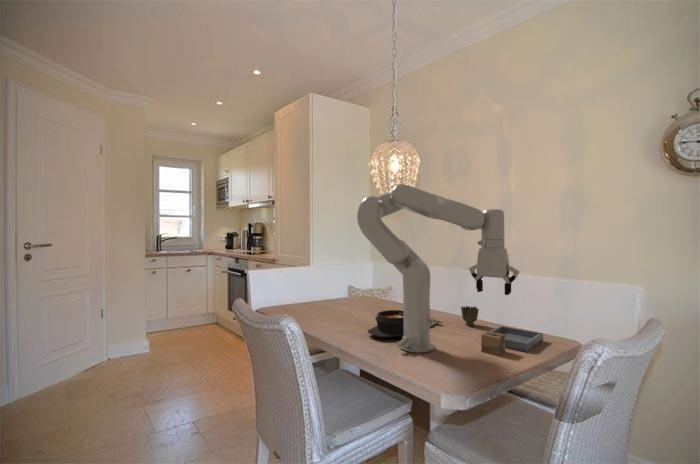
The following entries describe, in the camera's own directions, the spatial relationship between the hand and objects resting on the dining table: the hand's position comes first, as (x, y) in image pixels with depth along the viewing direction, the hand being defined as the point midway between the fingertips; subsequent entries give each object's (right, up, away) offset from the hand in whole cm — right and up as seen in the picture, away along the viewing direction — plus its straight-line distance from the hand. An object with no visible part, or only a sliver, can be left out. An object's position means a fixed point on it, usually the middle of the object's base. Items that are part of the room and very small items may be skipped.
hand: (493, 293), depth 128 cm
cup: (+3, -21, +35) cm, 41 cm away
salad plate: (-20, -21, +40) cm, 49 cm away
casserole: (-32, -21, +22) cm, 44 cm away
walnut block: (0, -21, 0) cm, 21 cm away
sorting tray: (+12, -21, +11) cm, 26 cm away
